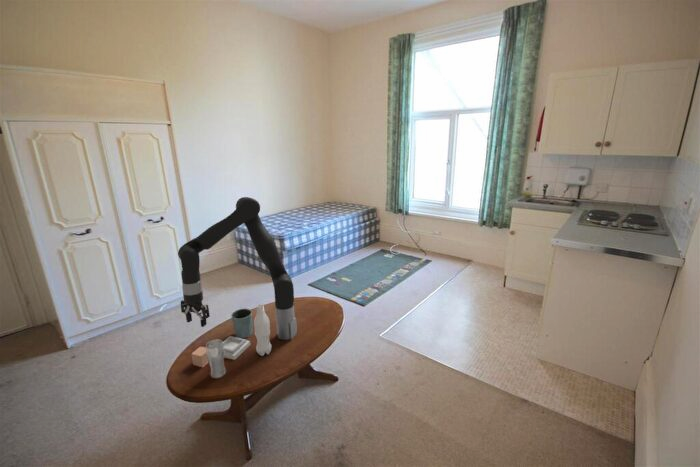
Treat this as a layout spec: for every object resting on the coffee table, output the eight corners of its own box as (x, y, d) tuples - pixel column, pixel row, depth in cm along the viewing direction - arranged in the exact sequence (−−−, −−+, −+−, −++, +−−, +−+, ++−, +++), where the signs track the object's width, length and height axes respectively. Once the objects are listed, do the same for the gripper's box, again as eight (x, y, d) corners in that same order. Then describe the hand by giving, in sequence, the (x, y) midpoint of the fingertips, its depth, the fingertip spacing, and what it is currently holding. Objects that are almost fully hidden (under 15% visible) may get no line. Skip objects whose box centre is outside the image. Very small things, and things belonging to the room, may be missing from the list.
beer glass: (212, 368, 141) (208, 339, 137) (228, 367, 142) (225, 338, 138) (207, 379, 135) (202, 349, 130) (224, 378, 135) (220, 348, 131)
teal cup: (254, 337, 164) (252, 316, 161) (233, 341, 161) (231, 320, 157) (253, 326, 173) (251, 307, 170) (233, 330, 170) (231, 310, 166)
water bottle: (258, 359, 147) (253, 311, 140) (255, 350, 153) (250, 304, 146) (273, 354, 150) (269, 307, 143) (269, 346, 157) (266, 300, 150)
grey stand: (250, 344, 158) (249, 338, 157) (234, 359, 147) (234, 353, 146) (230, 340, 161) (229, 334, 160) (213, 354, 150) (212, 348, 149)
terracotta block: (211, 359, 147) (210, 348, 145) (203, 367, 142) (201, 356, 140) (202, 357, 149) (200, 346, 147) (193, 364, 144) (191, 353, 142)
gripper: (211, 290, 137) (215, 323, 142) (187, 284, 143) (191, 316, 147) (197, 297, 131) (201, 332, 135) (173, 290, 136) (177, 324, 140)
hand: (196, 323), depth 141 cm, fingers open, 8 cm apart
